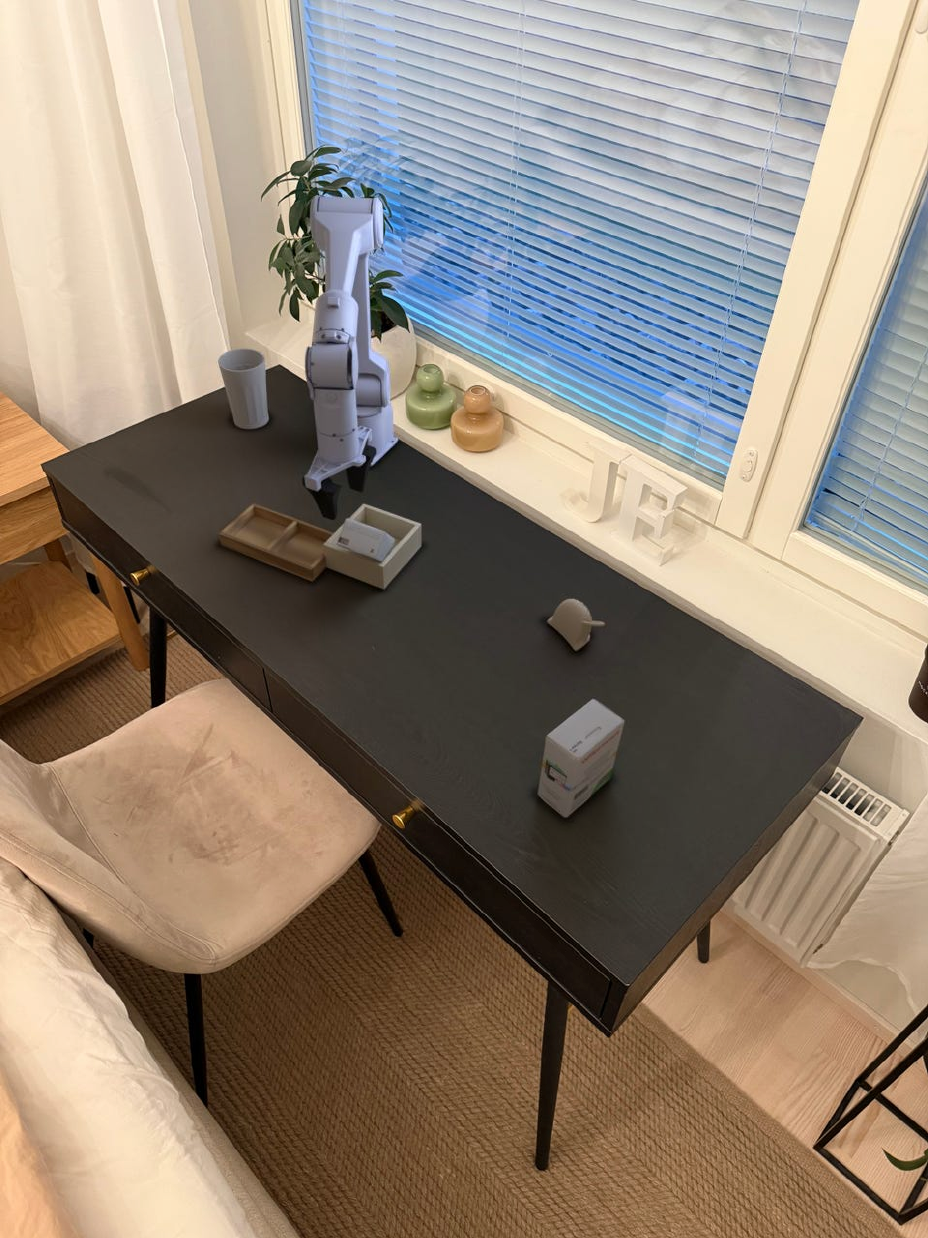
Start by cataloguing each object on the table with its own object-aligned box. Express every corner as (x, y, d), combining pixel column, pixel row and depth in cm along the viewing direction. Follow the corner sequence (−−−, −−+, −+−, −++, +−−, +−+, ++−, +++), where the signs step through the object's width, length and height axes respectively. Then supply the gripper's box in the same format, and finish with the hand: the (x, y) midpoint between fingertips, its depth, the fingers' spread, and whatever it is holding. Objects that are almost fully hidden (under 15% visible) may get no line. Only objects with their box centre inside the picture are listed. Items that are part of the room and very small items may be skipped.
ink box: (581, 755, 112) (593, 694, 104) (611, 779, 110) (626, 719, 102) (535, 794, 108) (544, 734, 100) (566, 820, 106) (577, 761, 97)
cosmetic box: (396, 539, 136) (388, 529, 124) (385, 566, 136) (377, 560, 124) (358, 525, 136) (346, 514, 124) (348, 552, 136) (335, 544, 124)
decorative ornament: (568, 611, 131) (572, 584, 127) (604, 647, 126) (609, 620, 122) (546, 621, 129) (549, 594, 125) (581, 658, 124) (586, 631, 120)
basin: (364, 525, 143) (363, 503, 140) (421, 546, 140) (421, 523, 137) (325, 566, 136) (322, 544, 133) (383, 589, 133) (382, 567, 129)
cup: (222, 428, 161) (211, 368, 153) (237, 405, 167) (227, 346, 158) (265, 433, 160) (256, 373, 152) (278, 410, 166) (270, 350, 158)
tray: (255, 514, 144) (253, 502, 143) (344, 548, 139) (343, 536, 137) (221, 545, 139) (218, 533, 137) (312, 581, 133) (311, 569, 132)
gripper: (332, 460, 118) (339, 538, 128) (388, 408, 127) (391, 485, 137) (288, 444, 120) (298, 523, 130) (346, 395, 129) (352, 472, 139)
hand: (343, 503), depth 133 cm, fingers open, 7 cm apart
